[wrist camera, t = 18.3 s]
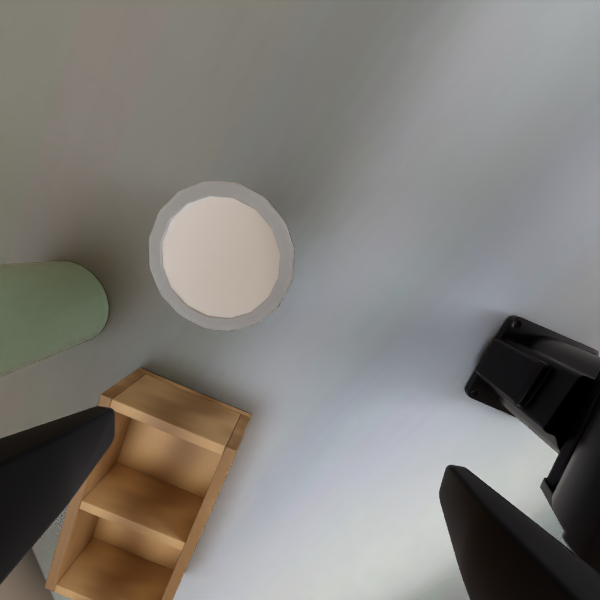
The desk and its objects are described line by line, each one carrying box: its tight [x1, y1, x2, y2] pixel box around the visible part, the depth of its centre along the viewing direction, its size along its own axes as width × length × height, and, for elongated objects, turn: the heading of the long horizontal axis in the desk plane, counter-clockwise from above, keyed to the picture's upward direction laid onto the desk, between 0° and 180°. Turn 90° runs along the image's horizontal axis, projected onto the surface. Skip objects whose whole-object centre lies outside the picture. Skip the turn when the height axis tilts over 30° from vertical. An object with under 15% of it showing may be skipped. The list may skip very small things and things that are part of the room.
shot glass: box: [149, 181, 294, 331], centre depth 16 cm, size 7×7×7 cm
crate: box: [45, 368, 251, 600], centre depth 22 cm, size 10×18×4 cm, turn 157°
